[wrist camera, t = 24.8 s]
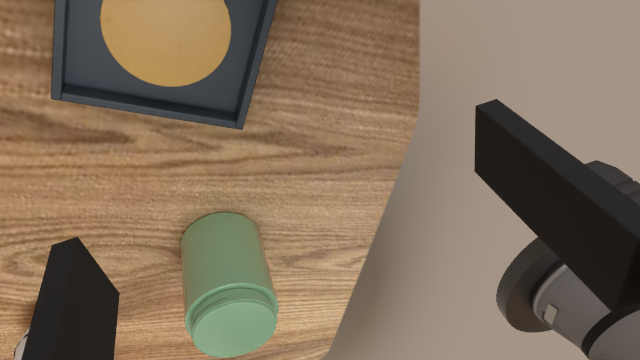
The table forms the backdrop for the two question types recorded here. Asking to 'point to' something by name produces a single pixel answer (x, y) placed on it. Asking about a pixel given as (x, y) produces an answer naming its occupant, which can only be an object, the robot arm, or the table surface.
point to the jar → (227, 286)
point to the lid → (167, 38)
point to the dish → (146, 98)
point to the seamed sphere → (20, 346)
